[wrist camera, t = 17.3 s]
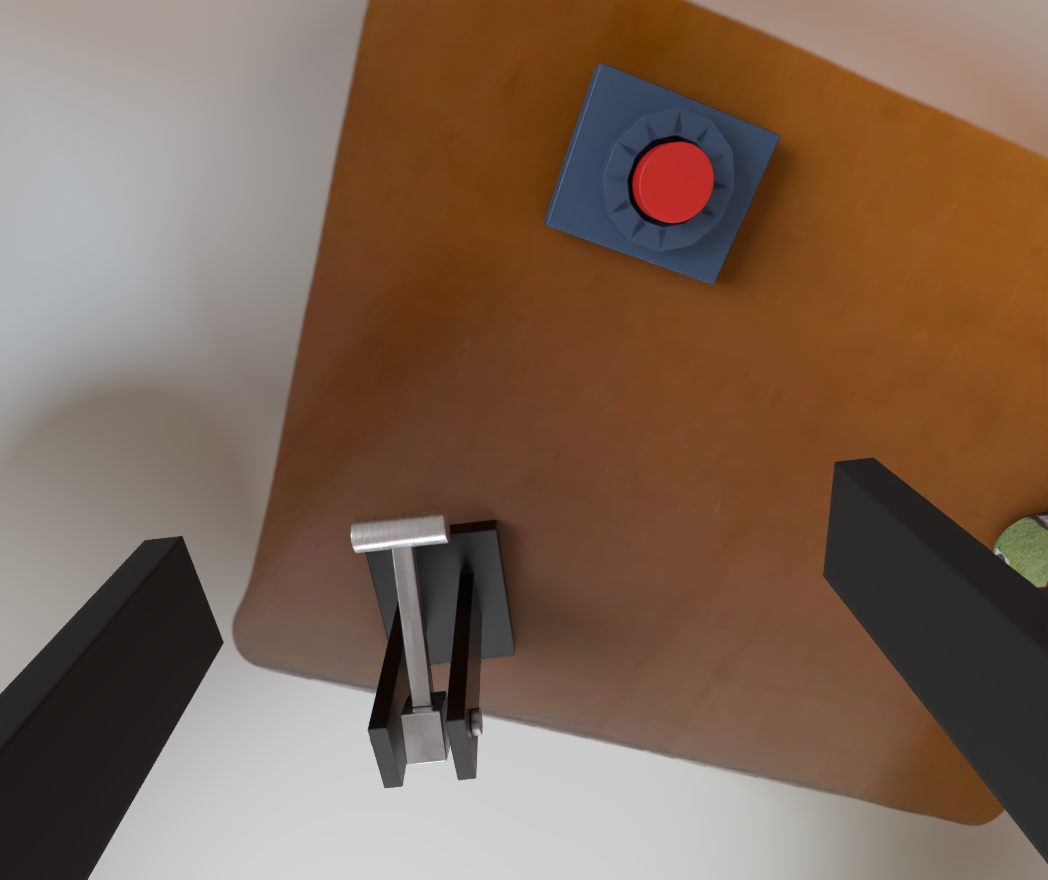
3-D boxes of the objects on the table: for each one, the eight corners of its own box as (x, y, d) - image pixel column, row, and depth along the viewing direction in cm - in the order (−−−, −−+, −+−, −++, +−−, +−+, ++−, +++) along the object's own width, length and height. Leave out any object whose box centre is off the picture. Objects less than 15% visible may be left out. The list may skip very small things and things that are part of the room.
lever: (359, 515, 35) (346, 524, 33) (448, 505, 35) (442, 513, 33) (389, 744, 36) (380, 768, 34) (476, 734, 36) (473, 758, 34)
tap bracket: (367, 533, 44) (312, 685, 31) (496, 519, 43) (494, 665, 31) (397, 656, 48) (360, 832, 35) (514, 643, 48) (520, 815, 35)
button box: (543, 222, 36) (548, 229, 32) (594, 68, 33) (606, 56, 29) (702, 279, 37) (724, 291, 34) (765, 136, 34) (796, 133, 31)
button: (621, 206, 32) (627, 208, 30) (649, 131, 31) (657, 130, 29) (685, 229, 33) (694, 233, 31) (715, 157, 31) (727, 157, 30)
